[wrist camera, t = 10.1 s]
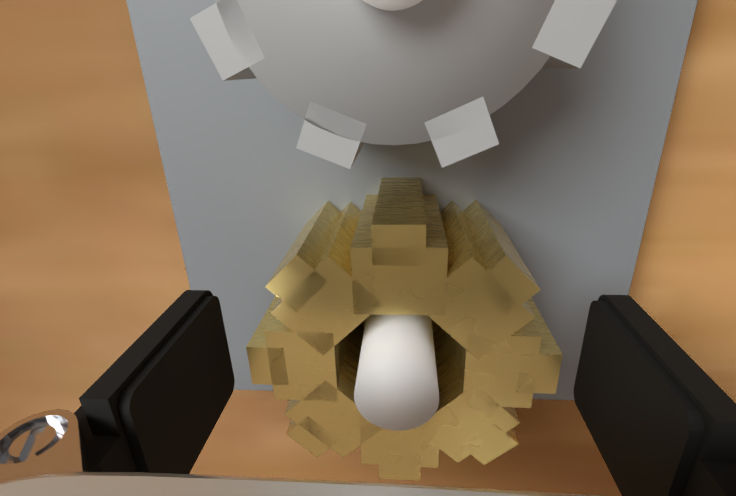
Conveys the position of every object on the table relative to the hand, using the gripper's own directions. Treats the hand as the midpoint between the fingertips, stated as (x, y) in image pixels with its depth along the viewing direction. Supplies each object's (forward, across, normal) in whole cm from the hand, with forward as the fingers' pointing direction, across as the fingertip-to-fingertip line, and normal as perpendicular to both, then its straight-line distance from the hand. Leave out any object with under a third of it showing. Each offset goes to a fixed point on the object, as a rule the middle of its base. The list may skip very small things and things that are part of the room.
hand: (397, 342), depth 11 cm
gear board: (+4, 0, -4) cm, 6 cm away
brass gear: (+3, 0, 0) cm, 3 cm away
